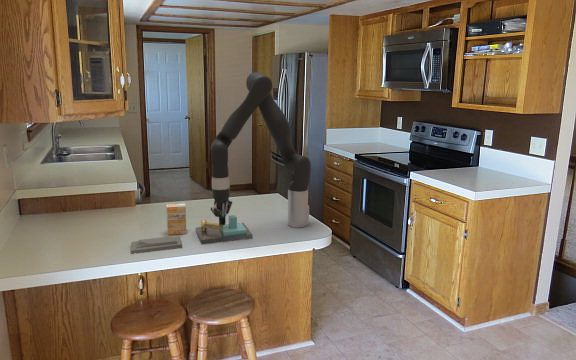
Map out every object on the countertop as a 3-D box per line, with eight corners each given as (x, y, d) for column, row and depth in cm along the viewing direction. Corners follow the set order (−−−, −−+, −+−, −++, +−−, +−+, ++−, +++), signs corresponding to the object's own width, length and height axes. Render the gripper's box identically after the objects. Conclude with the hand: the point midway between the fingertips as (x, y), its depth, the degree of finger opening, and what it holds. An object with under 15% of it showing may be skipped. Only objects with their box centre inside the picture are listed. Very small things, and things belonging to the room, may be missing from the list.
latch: (200, 230, 205) (199, 221, 204) (203, 228, 207) (202, 219, 206) (220, 233, 202) (220, 224, 201) (223, 231, 204) (223, 222, 203)
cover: (241, 225, 212) (240, 212, 211) (246, 233, 203) (246, 218, 202) (219, 228, 209) (219, 214, 208) (224, 235, 200) (223, 221, 198)
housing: (243, 226, 217) (243, 222, 217) (252, 238, 203) (252, 234, 202) (195, 231, 210) (195, 227, 210) (201, 244, 195) (201, 239, 195)
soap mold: (130, 246, 194) (130, 238, 193) (179, 240, 201) (179, 233, 200) (131, 255, 185) (130, 247, 184) (182, 249, 191) (182, 241, 190)
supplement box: (167, 235, 205) (166, 207, 202) (167, 232, 209) (165, 203, 206) (186, 234, 207) (185, 205, 204) (186, 230, 212) (185, 202, 208)
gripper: (218, 191, 193) (220, 231, 197) (236, 184, 204) (238, 221, 209) (204, 189, 197) (206, 228, 201) (223, 182, 208) (224, 219, 212)
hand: (222, 224), depth 205 cm, fingers closed
